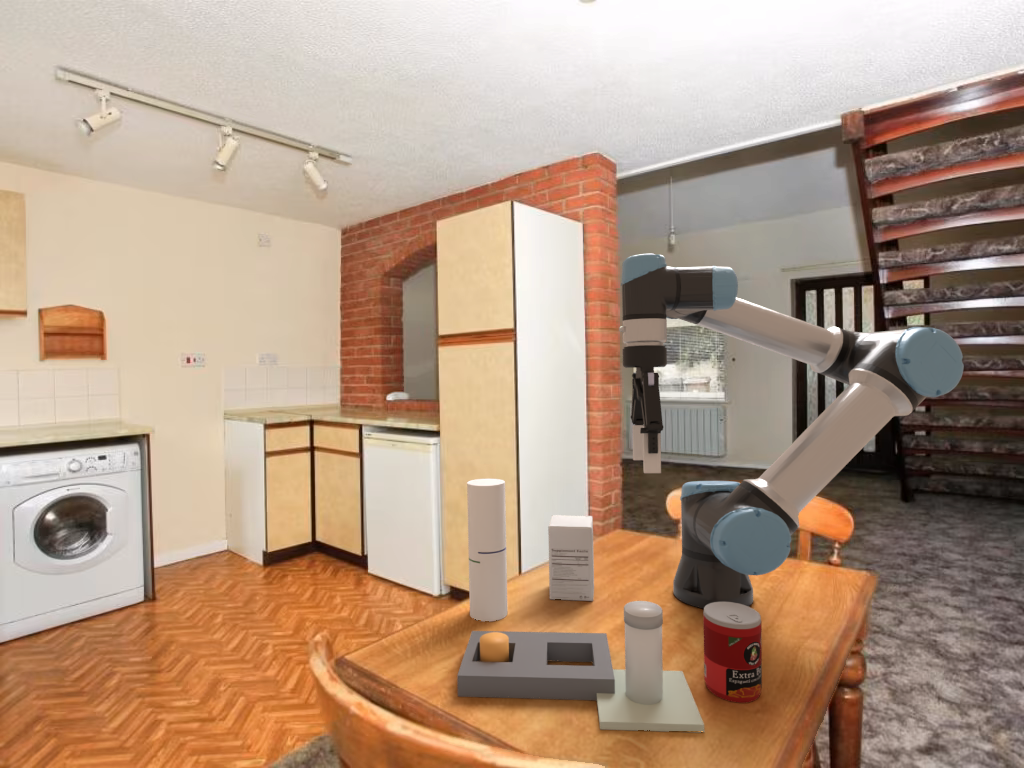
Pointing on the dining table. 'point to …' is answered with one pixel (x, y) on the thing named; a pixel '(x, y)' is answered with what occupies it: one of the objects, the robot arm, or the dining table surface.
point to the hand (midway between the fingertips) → (645, 466)
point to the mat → (650, 707)
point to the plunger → (494, 647)
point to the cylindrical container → (487, 549)
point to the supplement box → (571, 558)
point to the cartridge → (643, 652)
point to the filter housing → (539, 667)
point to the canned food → (732, 651)
